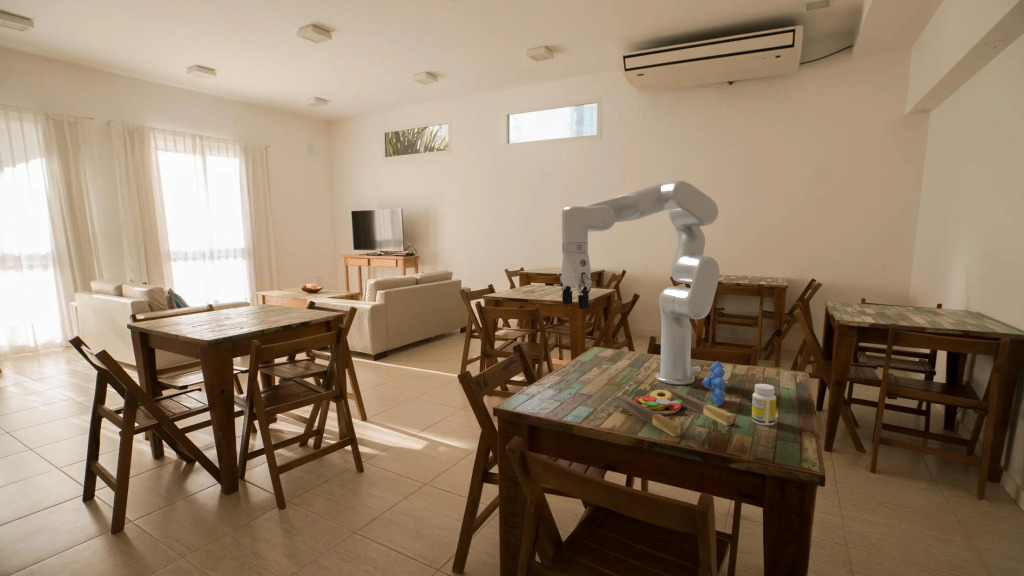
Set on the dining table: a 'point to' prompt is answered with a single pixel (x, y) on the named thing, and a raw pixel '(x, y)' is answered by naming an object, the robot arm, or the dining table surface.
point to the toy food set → (660, 402)
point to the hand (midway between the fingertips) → (575, 306)
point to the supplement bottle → (764, 404)
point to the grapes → (716, 383)
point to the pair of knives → (667, 424)
